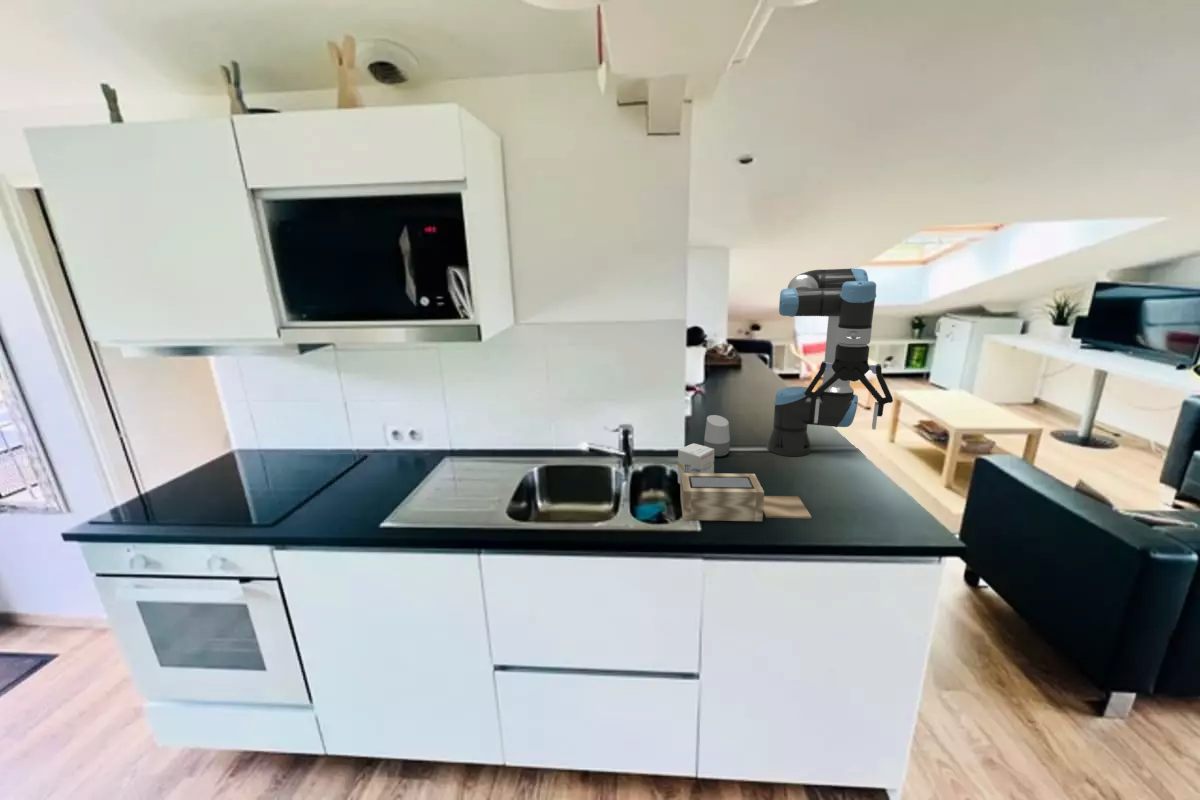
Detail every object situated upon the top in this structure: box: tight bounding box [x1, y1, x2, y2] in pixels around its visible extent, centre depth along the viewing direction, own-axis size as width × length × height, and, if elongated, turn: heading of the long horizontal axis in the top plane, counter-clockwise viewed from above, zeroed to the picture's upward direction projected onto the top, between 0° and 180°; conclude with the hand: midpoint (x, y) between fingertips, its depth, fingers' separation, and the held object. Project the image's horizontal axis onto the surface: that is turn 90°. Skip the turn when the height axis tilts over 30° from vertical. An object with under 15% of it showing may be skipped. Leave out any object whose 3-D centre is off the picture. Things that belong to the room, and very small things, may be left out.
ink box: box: [677, 443, 715, 485], centre depth 154 cm, size 9×8×12 cm
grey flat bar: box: [690, 477, 752, 489], centre depth 136 cm, size 16×6×2 cm, turn 85°
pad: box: [763, 495, 812, 519], centre depth 138 cm, size 12×12×1 cm
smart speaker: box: [703, 414, 731, 458], centre depth 177 cm, size 10×9×14 cm
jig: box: [680, 472, 765, 522], centre depth 137 cm, size 21×12×9 cm, turn 85°
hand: (844, 424), depth 127 cm, fingers open, 13 cm apart
